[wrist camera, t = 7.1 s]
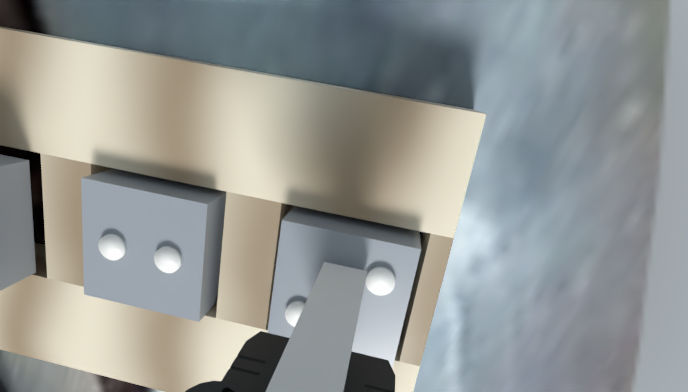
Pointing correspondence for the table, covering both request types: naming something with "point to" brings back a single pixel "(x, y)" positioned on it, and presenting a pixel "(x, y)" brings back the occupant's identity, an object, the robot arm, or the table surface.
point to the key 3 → (351, 251)
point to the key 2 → (152, 242)
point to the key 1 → (15, 222)
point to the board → (221, 174)
